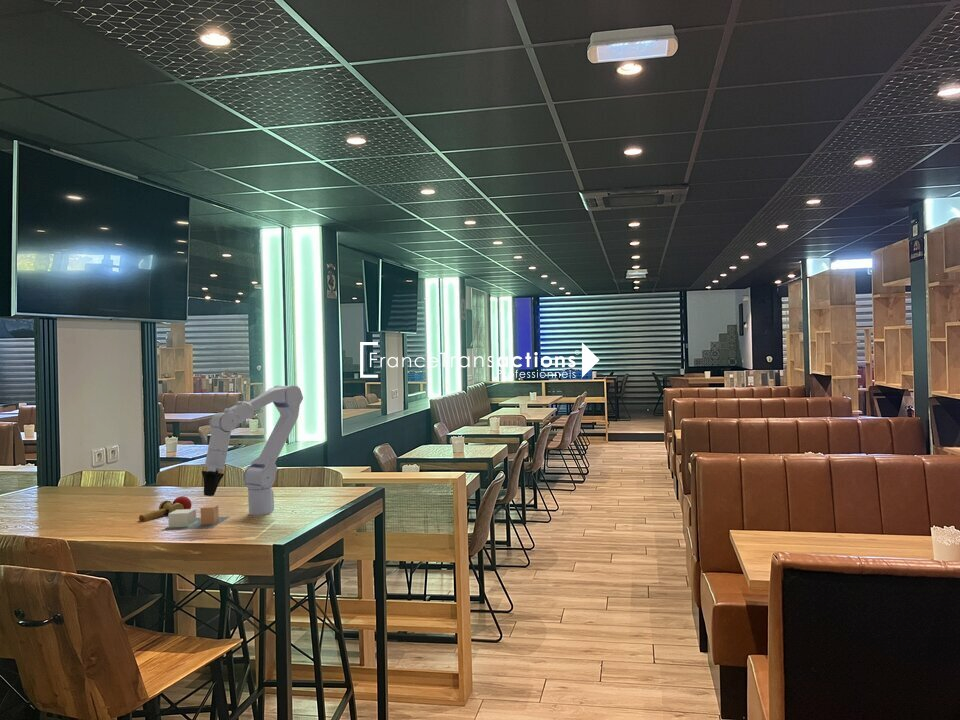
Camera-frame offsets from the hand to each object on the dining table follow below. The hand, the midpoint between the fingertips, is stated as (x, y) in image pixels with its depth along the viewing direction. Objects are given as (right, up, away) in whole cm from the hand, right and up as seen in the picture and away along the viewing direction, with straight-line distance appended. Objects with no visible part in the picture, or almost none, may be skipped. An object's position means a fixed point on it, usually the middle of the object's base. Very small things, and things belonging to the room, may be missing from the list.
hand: (208, 495), depth 221 cm
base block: (-9, -9, +1) cm, 13 cm away
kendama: (-20, -11, +16) cm, 28 cm away
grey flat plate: (-5, -10, +2) cm, 11 cm away
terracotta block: (-1, -9, +2) cm, 9 cm away
